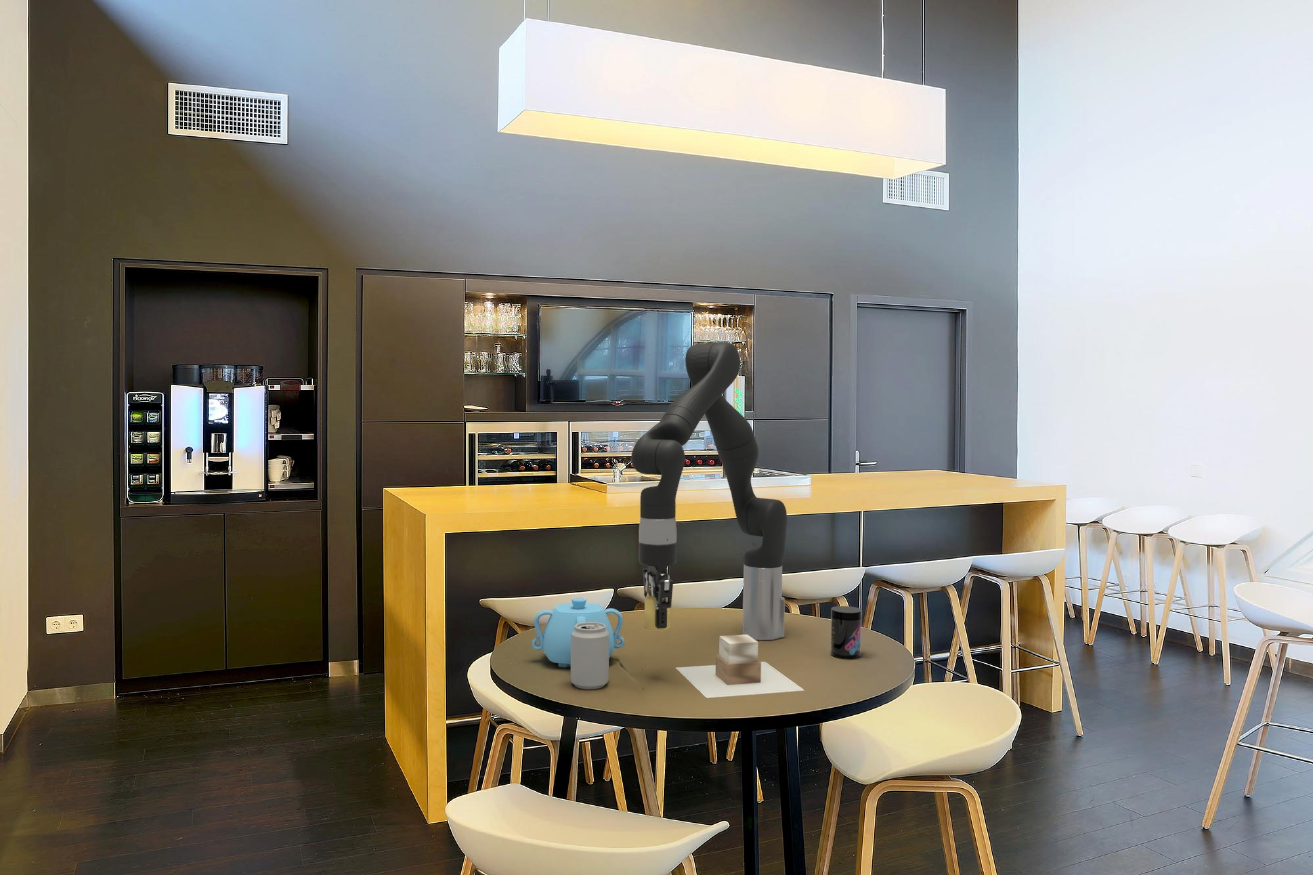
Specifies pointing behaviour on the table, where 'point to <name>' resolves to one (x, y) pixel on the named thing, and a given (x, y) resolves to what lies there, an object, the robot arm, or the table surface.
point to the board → (716, 687)
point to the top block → (738, 649)
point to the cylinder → (653, 614)
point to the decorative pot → (572, 628)
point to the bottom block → (738, 672)
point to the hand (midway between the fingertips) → (657, 624)
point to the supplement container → (846, 632)
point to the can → (589, 655)
